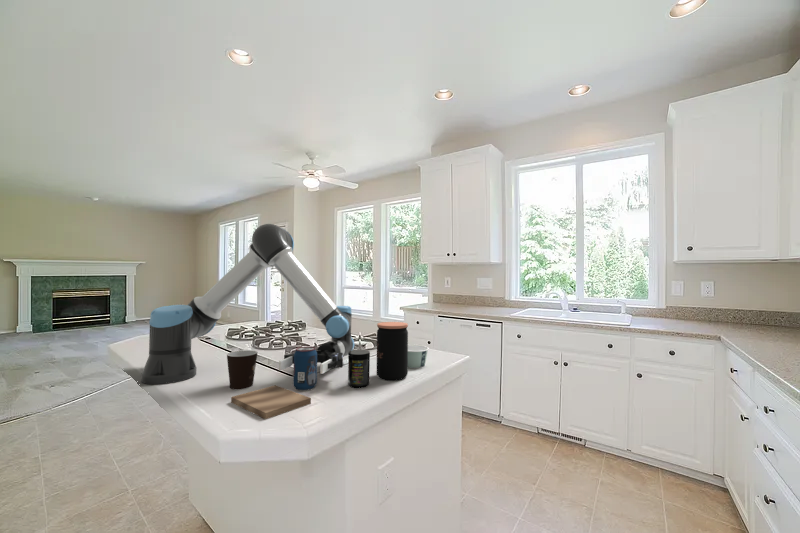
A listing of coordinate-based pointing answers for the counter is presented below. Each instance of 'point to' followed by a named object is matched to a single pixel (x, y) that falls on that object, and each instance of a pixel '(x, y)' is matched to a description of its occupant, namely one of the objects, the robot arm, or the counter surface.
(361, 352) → the supplement container
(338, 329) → the robot arm
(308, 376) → the soda can
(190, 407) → the counter surface
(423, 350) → the food container
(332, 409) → the counter surface
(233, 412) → the counter surface
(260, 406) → the walnut board
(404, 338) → the coffee jar
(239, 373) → the coffee mug
